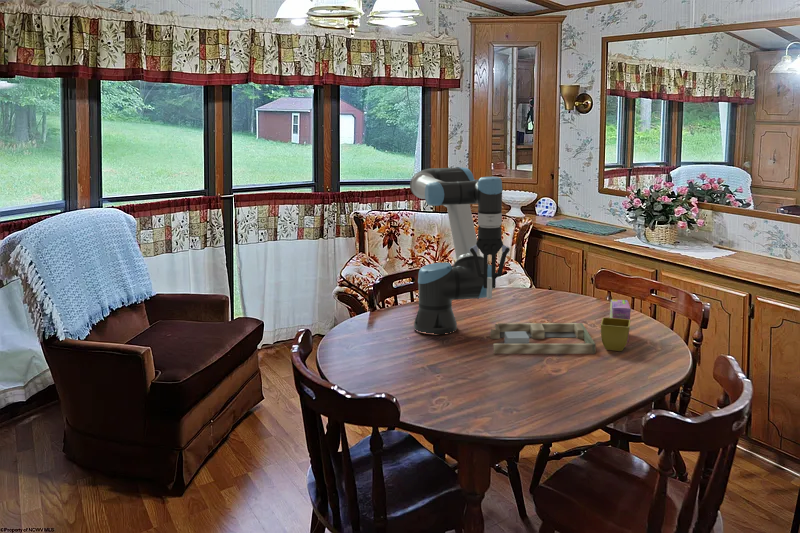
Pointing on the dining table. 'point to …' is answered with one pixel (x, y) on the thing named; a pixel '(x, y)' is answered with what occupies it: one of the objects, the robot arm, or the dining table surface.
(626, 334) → the flower pot
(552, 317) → the dining table surface
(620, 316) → the box
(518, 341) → the block
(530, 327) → the box
